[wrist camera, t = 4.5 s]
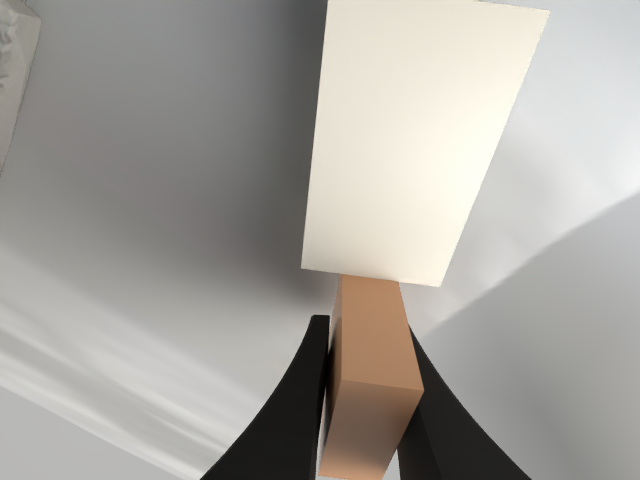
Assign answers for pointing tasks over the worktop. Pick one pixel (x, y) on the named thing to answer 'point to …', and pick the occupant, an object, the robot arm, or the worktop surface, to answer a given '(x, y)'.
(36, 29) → the packaged product
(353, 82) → the two-tone stacked block
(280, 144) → the worktop surface
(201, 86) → the worktop surface
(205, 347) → the worktop surface
